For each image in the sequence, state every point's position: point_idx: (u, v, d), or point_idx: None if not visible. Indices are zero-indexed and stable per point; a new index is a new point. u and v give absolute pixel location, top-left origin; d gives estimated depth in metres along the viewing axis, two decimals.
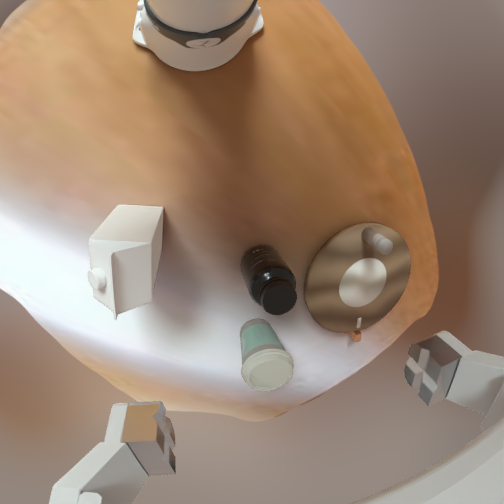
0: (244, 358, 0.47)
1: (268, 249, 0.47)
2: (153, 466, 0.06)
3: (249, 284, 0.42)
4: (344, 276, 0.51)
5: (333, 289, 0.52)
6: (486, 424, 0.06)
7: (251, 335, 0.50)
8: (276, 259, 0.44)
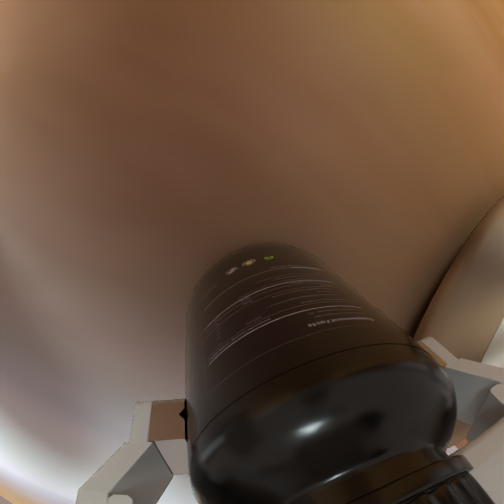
0: None
1: (300, 260, 0.10)
2: (179, 465, 0.06)
3: (190, 470, 0.05)
4: (496, 334, 0.14)
5: None
6: (471, 435, 0.06)
7: None
8: (361, 308, 0.07)
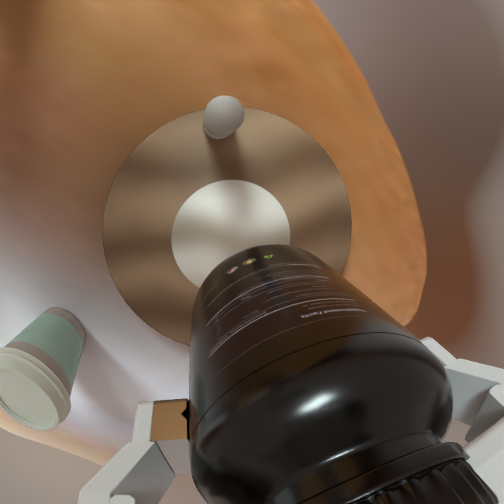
0: None
1: (299, 258, 0.10)
2: (181, 465, 0.06)
3: None
4: (177, 221, 0.24)
5: (159, 251, 0.25)
6: (470, 435, 0.06)
7: None
8: (354, 300, 0.07)
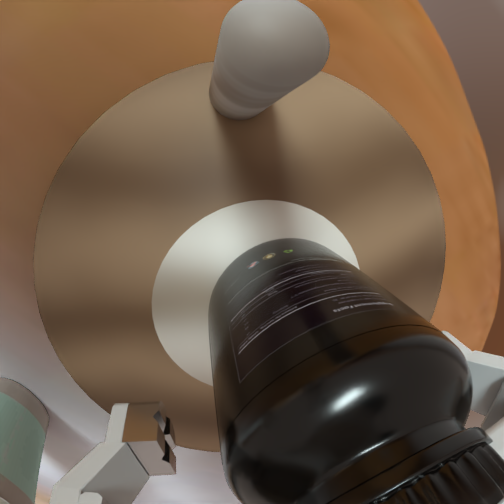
0: None
1: (318, 252, 0.10)
2: (153, 466, 0.06)
3: (223, 457, 0.06)
4: (161, 280, 0.13)
5: (132, 330, 0.13)
6: (486, 424, 0.06)
7: None
8: (380, 294, 0.07)
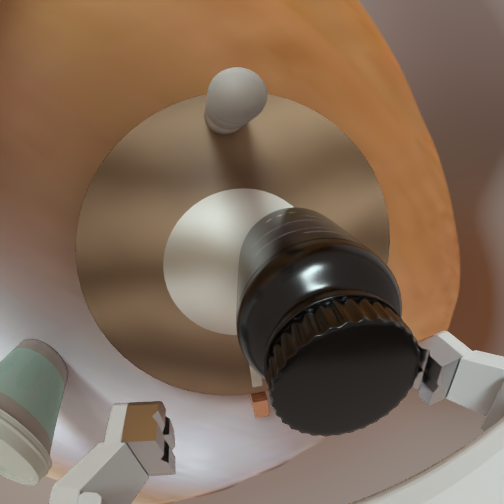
0: None
1: (312, 213, 0.16)
2: (153, 466, 0.06)
3: (237, 315, 0.11)
4: (171, 244, 0.18)
5: (147, 282, 0.19)
6: (486, 424, 0.06)
7: None
8: (337, 230, 0.12)
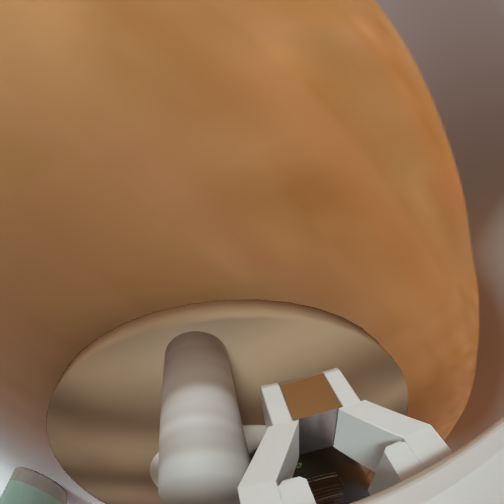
0: None
1: (321, 465, 0.11)
2: (310, 442, 0.07)
3: None
4: (155, 465, 0.13)
5: (138, 483, 0.13)
6: (371, 489, 0.05)
7: (1, 501, 0.11)
8: None
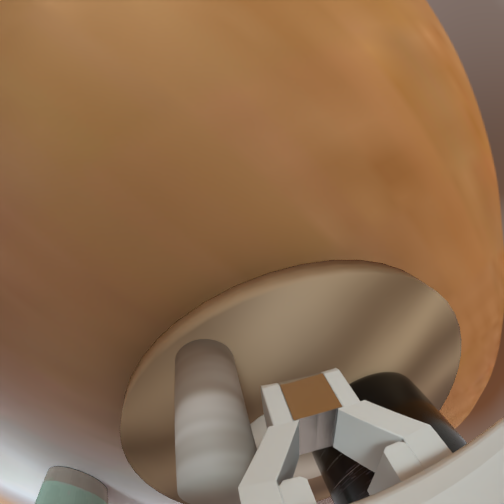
0: None
1: None
2: (310, 442, 0.07)
3: None
4: None
5: None
6: (371, 489, 0.05)
7: None
8: None
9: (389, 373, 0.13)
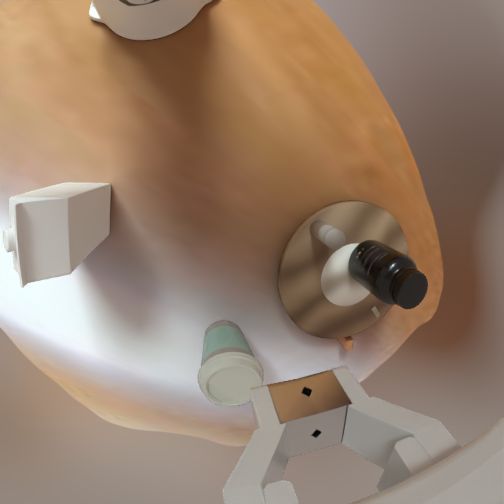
0: (202, 364, 0.37)
1: (369, 245, 0.40)
2: (299, 445, 0.07)
3: (375, 293, 0.36)
4: (322, 284, 0.43)
5: (320, 302, 0.44)
6: (380, 485, 0.05)
7: (213, 338, 0.41)
8: (385, 252, 0.37)
9: (374, 240, 0.42)
